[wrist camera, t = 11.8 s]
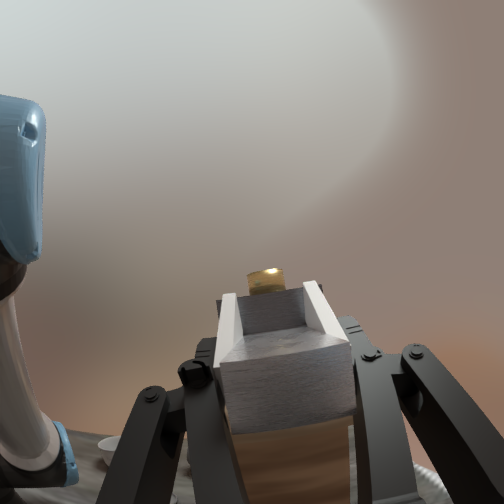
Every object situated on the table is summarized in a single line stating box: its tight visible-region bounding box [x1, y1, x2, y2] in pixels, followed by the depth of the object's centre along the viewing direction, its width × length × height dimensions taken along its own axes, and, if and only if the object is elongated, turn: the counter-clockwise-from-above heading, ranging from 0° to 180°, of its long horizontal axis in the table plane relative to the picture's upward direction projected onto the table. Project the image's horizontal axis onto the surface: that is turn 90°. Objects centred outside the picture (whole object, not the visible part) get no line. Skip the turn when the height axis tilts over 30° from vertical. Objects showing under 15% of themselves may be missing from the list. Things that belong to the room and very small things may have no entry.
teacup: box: [98, 436, 121, 466], centre depth 51 cm, size 14×11×8 cm
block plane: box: [216, 269, 357, 435], centre depth 17 cm, size 18×7×7 cm, turn 177°
